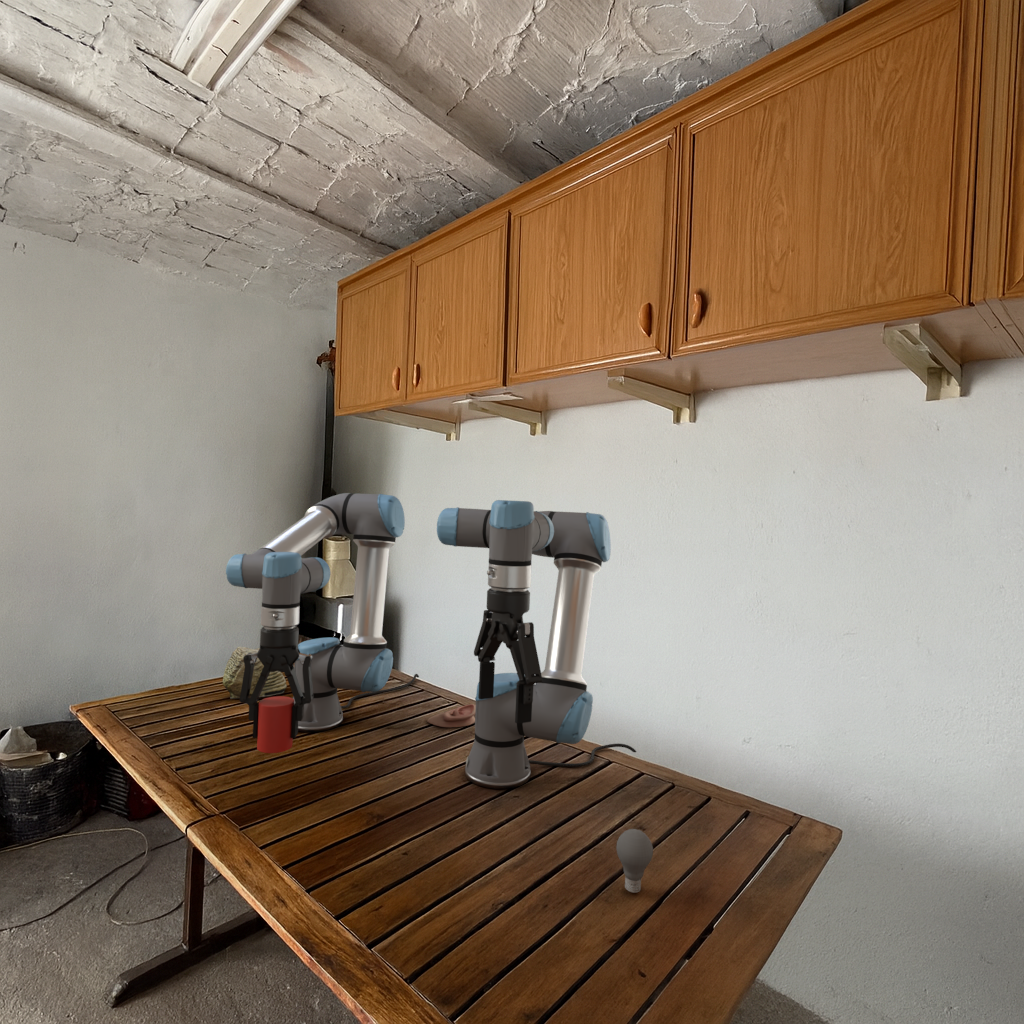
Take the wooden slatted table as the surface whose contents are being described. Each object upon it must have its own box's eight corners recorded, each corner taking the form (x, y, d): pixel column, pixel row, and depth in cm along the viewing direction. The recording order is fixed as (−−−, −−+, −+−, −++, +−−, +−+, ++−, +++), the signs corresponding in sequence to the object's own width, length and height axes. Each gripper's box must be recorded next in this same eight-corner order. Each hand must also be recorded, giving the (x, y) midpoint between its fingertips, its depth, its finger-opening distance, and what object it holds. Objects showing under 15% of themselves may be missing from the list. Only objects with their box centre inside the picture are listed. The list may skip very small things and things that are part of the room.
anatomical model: (423, 710, 178) (436, 698, 189) (423, 725, 178) (436, 711, 189) (469, 716, 175) (479, 703, 186) (468, 730, 175) (479, 716, 186)
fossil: (218, 695, 195) (220, 647, 195) (278, 685, 208) (279, 640, 207) (228, 703, 189) (230, 653, 188) (289, 692, 201) (290, 645, 201)
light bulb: (610, 879, 108) (613, 822, 108) (644, 879, 109) (647, 822, 109) (619, 902, 102) (622, 840, 102) (655, 901, 103) (658, 840, 103)
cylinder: (288, 753, 129) (290, 706, 129) (252, 753, 129) (254, 706, 128) (295, 740, 136) (297, 696, 136) (261, 740, 135) (263, 696, 135)
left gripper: (224, 628, 127) (219, 742, 128) (325, 631, 129) (320, 742, 130) (236, 621, 135) (232, 728, 135) (331, 624, 137) (327, 729, 137)
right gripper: (459, 579, 119) (454, 691, 120) (526, 600, 98) (520, 737, 98) (494, 578, 123) (489, 687, 124) (567, 599, 101) (561, 730, 102)
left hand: (275, 735), depth 132 cm, fingers closed on cylinder, 7 cm apart
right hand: (503, 709), depth 111 cm, fingers open, 13 cm apart
